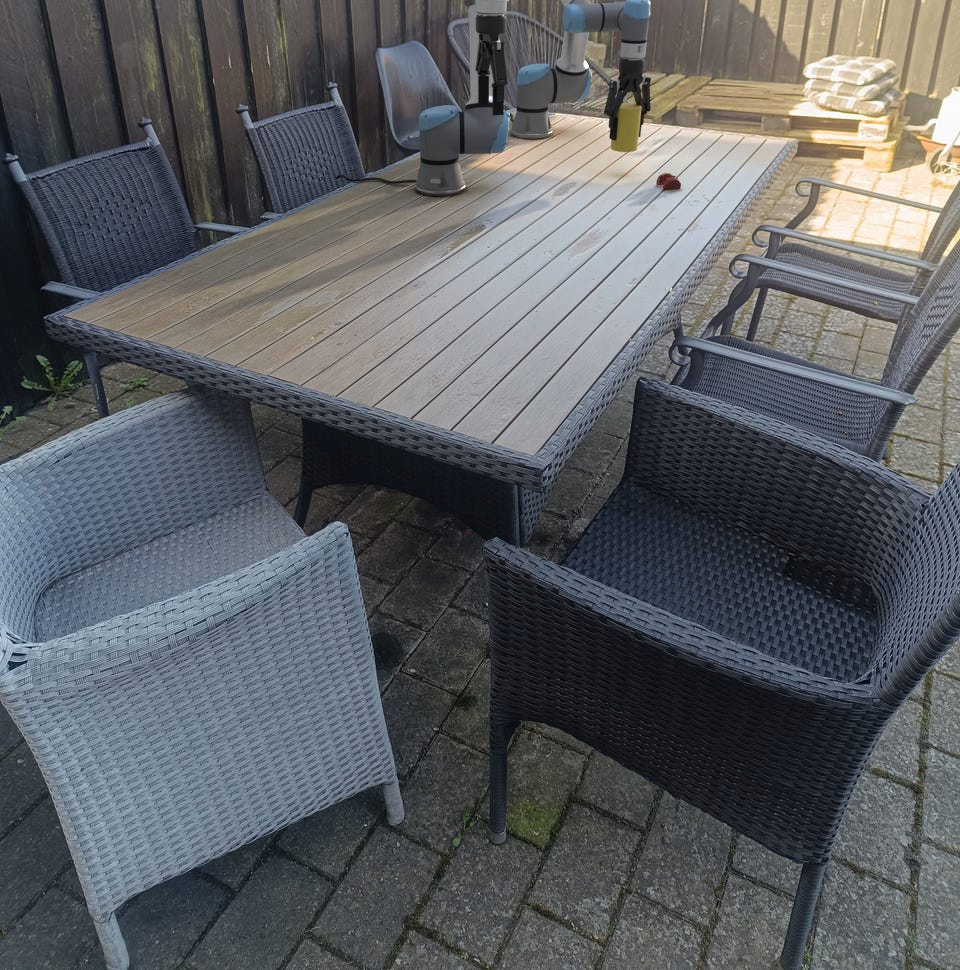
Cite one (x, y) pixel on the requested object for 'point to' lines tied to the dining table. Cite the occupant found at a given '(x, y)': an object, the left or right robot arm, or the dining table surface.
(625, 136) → the cylinder
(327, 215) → the dining table surface
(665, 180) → the dental model
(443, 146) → the left robot arm
